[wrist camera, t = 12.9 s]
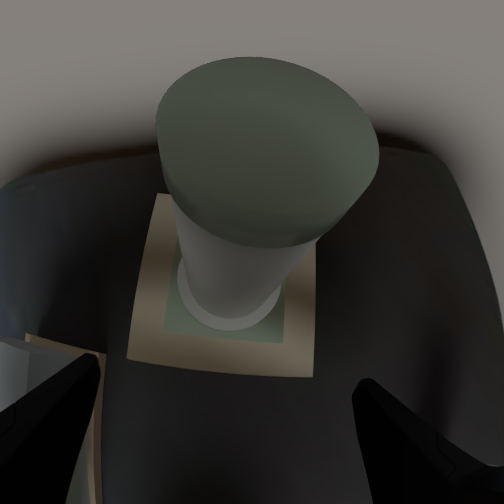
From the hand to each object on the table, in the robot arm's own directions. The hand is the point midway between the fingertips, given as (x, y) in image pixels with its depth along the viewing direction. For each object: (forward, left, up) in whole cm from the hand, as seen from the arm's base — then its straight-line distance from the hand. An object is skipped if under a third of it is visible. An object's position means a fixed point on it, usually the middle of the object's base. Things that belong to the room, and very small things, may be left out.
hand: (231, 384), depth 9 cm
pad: (+6, 0, -9) cm, 11 cm away
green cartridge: (+6, 0, -8) cm, 9 cm away
